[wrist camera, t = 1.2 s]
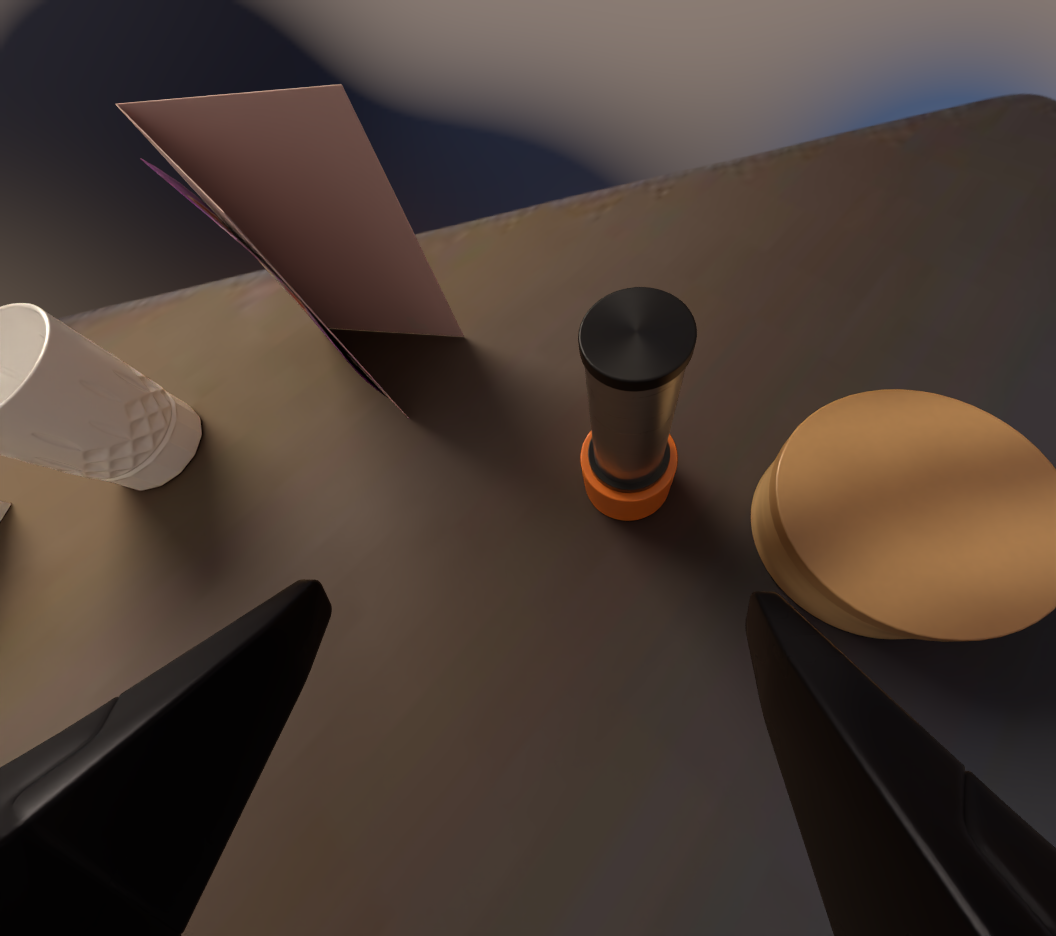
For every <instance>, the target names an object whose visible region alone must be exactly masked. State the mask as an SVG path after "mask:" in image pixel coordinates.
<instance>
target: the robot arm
mask: <svg viewBox="0 0 1056 936" xmlns="http://www.w3.org/2000/svg"><path fill="white" fill-rule="evenodd" d="M331 612H332V607H331V603H330V601H329V599H328V597H327V595H326V593H325V591H324V589H323V586H322V584H321V583H320V582H319V581H318V580H305V579H303V580H299V581H297V582H295V583H293V584H292V585H290V586H289V587H287V588H286V589H284V590H282V591H281V592H279V593H278V594H276V595H275V596H273V597H272V598H270V599H268V600H267V601H265V602H264V603H262V604H261V605H259V606H257V607H256V608H254V609H253V610H251V611H250V612H248V613H247V614H245V615H243V616H242V617H240V618H239V619H237V620H236V621H234V622H232V623H231V624H229V625H228V626H226V627H225V628H223V629H222V630H220V631H218V632H217V633H215V634H214V635H212V636H211V637H209V638H208V639H206V640H204V641H203V642H201V643H200V644H198V645H197V646H195V647H193V648H192V649H190V650H189V651H187V652H186V653H184V654H183V655H181V656H179V657H178V658H176V659H175V660H173V661H172V662H170V663H168V664H167V665H165V666H164V667H162V668H161V669H159V670H158V671H156V672H154V673H153V674H151V675H150V676H148V677H147V678H145V679H143V680H142V681H140V682H139V683H137V684H136V685H134V686H133V687H131V688H129V689H128V690H126V691H125V692H123V693H122V694H121V695H120V696H119V697H115V698H114V699H112V700H111V701H109V702H107V703H106V704H104V705H103V706H101V707H100V708H98V709H97V710H95V711H94V712H92V713H90V714H89V715H87V716H86V717H84V718H82V719H81V720H79V721H77V722H76V723H74V724H73V725H71V726H69V727H68V728H66V729H65V730H63V731H61V732H60V733H58V734H57V735H55V736H53V737H51V738H50V739H48V740H46V741H45V742H43V743H41V744H40V745H38V746H36V747H35V748H33V749H31V750H30V751H28V752H26V753H25V754H23V755H21V756H19V757H18V758H16V759H14V760H13V761H11V762H9V763H7V764H6V765H4V766H2V767H1V768H0V936H181V934H182V933H183V932H184V930H185V928H186V926H187V924H188V922H189V920H190V918H191V916H192V914H193V912H194V909H195V907H196V905H197V903H198V901H199V899H200V897H201V895H202V893H203V891H204V889H205V887H206V885H207V883H208V881H209V879H210V877H211V875H212V873H213V871H214V869H215V867H216V865H217V863H218V860H219V858H220V856H221V854H222V852H223V850H224V848H225V846H226V844H227V842H228V840H229V838H230V836H231V834H232V832H233V830H234V828H235V826H236V824H237V822H238V820H239V818H240V816H241V813H242V811H243V809H244V807H245V805H246V803H247V801H248V799H249V797H250V795H251V793H252V791H253V789H254V787H255V785H256V783H257V781H258V779H259V777H260V775H261V773H262V771H263V769H264V766H265V764H266V762H267V760H268V758H269V756H270V754H271V752H272V750H273V748H274V746H275V744H276V742H277V740H278V738H279V736H280V734H281V732H282V730H283V728H284V726H285V724H286V722H287V719H288V717H289V715H290V713H291V711H292V709H293V707H294V705H295V703H296V701H297V699H298V697H299V695H300V693H301V691H302V689H303V686H304V684H305V682H306V680H307V677H308V675H309V672H310V670H311V667H312V665H313V662H314V659H315V657H316V654H317V651H318V649H319V646H320V643H321V641H322V638H323V636H324V633H325V630H326V628H327V625H328V622H329V620H330V617H331ZM746 635H747V640H748V645H749V649H750V654H751V659H752V664H753V669H754V674H755V679H756V684H757V689H758V694H759V698H760V703H761V708H762V712H763V716H764V720H765V723H766V726H767V730H768V733H769V736H770V739H771V742H772V745H773V748H774V751H775V754H776V757H777V761H778V764H779V767H780V770H781V773H782V776H783V779H784V782H785V785H786V788H787V792H788V795H789V798H790V801H791V804H792V807H793V810H794V813H795V816H796V819H797V822H798V826H799V829H800V832H801V835H802V838H803V841H804V844H805V847H806V850H807V853H808V856H809V860H810V863H811V866H812V869H813V872H814V875H815V878H816V881H817V884H818V887H819V890H820V894H821V897H822V900H823V903H824V906H825V909H826V912H827V915H828V918H829V921H830V924H831V928H832V931H833V934H834V936H1056V848H1055V847H1054V846H1053V845H1051V844H1050V843H1049V842H1048V841H1047V840H1046V839H1044V838H1043V837H1042V836H1041V835H1040V834H1039V833H1038V832H1037V831H1035V830H1034V829H1033V828H1032V827H1031V826H1030V825H1029V824H1028V823H1027V822H1025V821H1024V820H1023V819H1022V818H1021V817H1020V816H1019V815H1018V814H1017V813H1015V812H1014V811H1013V810H1012V809H1011V808H1010V807H1009V806H1008V805H1006V804H1005V803H1004V802H1003V801H1002V800H1001V799H1000V798H999V797H998V796H996V795H995V794H994V793H993V792H992V791H991V790H990V789H989V788H988V787H987V786H986V785H985V784H984V783H982V782H981V781H980V780H979V779H978V778H977V777H976V776H975V775H974V774H973V773H972V772H970V771H965V767H964V765H963V764H962V763H961V762H959V761H958V760H957V759H956V758H955V757H954V756H953V755H952V754H951V753H950V752H949V751H948V750H947V749H945V748H944V747H943V746H942V745H941V744H940V743H939V742H938V741H937V740H936V739H935V738H934V737H932V736H931V735H930V734H929V733H928V732H927V731H926V730H925V729H924V728H923V727H922V726H921V725H920V724H918V723H917V722H916V721H915V720H914V719H913V718H912V717H911V716H910V715H909V714H908V713H907V712H905V711H904V710H903V709H902V708H901V707H900V706H899V705H898V704H897V703H896V702H895V701H894V700H893V699H891V698H890V697H889V696H888V695H887V694H886V693H885V692H884V691H883V690H882V689H881V688H880V687H878V686H877V685H876V684H875V683H874V682H873V681H872V680H871V679H870V678H869V677H868V676H867V675H866V674H864V673H863V672H862V671H861V670H860V669H859V668H858V667H857V666H856V665H855V664H854V663H853V662H852V661H850V660H849V659H848V658H847V657H846V656H845V655H844V654H843V653H842V652H841V651H840V650H839V649H837V648H836V647H835V646H834V645H833V644H832V643H831V642H830V641H829V640H828V639H827V638H826V637H825V636H823V635H822V634H821V633H820V632H819V631H818V630H817V629H816V628H815V627H814V626H813V625H812V624H810V623H809V622H808V621H807V620H806V619H805V618H804V617H803V616H802V615H801V614H800V613H799V612H798V611H796V610H795V609H794V608H793V607H792V606H791V605H790V604H789V603H788V602H787V601H786V600H785V599H783V598H782V597H781V596H780V595H779V594H777V593H775V592H760V591H756V592H753V593H752V594H751V597H750V601H749V606H748V612H747V617H746Z"/></svg>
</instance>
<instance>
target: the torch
mask: <svg viewBox="0 0 1056 936" xmlns="http://www.w3.org/2000/svg"><path fill="white" fill-rule="evenodd" d="M696 338H697V328H696V323H695V320H694V317H693V315H692V313H691V312H690V310H689V309H688V307H687V306H686V305H685V304H684V303H683V302H682V301H681V300H679V299H678V298H677V297H675V296H673V295H672V294H670V293H667V292H665V291H662V290H659V289H654V288H647V287H634V288H627V289H623V290H619V291H616V292H613V293H611V294H609V295H607V296H605V297H604V298H602V299H600V300H599V301H598V302H596V303H595V304H594V305H593V306H592V307H591V308H590V309H589V311H588V312H587V313H586V315H585V317H584V318H583V320H582V323H581V325H580V329H579V335H578V341H579V350H580V356H581V359H582V362H583V364H584V366H585V375H586V384H587V393H588V402H589V412H590V421H591V431H590V433H589V434H588V435H587V437H586V439H585V440H584V443H583V445H582V449H581V455H580V461H581V468H582V473H583V478H584V484H585V489H586V492H587V495H588V497H589V499H590V501H591V502H592V504H593V505H594V506H595V507H596V508H597V509H598V510H599V511H600V512H602V513H603V514H605V515H607V516H609V517H611V518H614V519H617V520H623V521H633V520H639V519H642V518H645V517H647V516H649V515H651V514H653V513H654V512H655V511H657V510H658V509H659V508H660V507H661V506H662V504H663V503H664V501H665V500H666V498H667V496H668V493H669V490H670V487H671V484H672V481H673V478H674V475H675V472H676V469H677V463H678V454H677V449H676V445H675V443H674V441H673V439H672V437H671V435H670V434H669V433H670V429H671V425H672V421H673V417H674V413H675V409H676V405H677V401H678V397H679V393H680V389H681V385H682V381H683V377H684V372H685V368H686V366H687V365H688V363H689V361H690V360H691V357H692V354H693V351H694V347H695V343H696Z"/></svg>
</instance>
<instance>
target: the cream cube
mask: <svg viewBox="0 0 1056 936" xmlns="http://www.w3.org/2000/svg"><path fill="white" fill-rule="evenodd" d="M11 504H12V503H8V502H4V501H0V521H1V520H2V518H3V516H4V515H5V513H6V512H7V510H8V508H9V507H10V505H11Z"/></svg>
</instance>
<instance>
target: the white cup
mask: <svg viewBox="0 0 1056 936" xmlns="http://www.w3.org/2000/svg"><path fill="white" fill-rule="evenodd" d="M201 436H202V430H201V421H200V417H199V416H198V415H197V413H196V412H195V411H194V410H193V409H192V408H191V407H190V406H189V405H188V404H186V403H185V402H183V401H181V400H180V399H178V398H177V397H175V396H173V395H172V394H170V393H169V392H167V391H165V390H164V389H163V388H162V387H161V386H159V385H158V384H157V383H155V382H154V381H152V380H151V379H150V378H148V377H146V376H144V375H143V374H141V373H140V372H138V371H137V370H136V369H134V368H133V367H131V366H130V365H128V364H127V363H125V362H124V361H122V360H121V359H119V358H118V357H116V356H115V355H113V354H112V353H110V352H108V351H107V350H105V349H104V348H102V347H101V346H99V345H97V344H96V343H94V342H93V341H91V340H90V339H88V338H86V337H85V336H83V335H82V334H80V333H79V332H77V331H75V330H74V329H72V328H71V327H69V326H68V325H66V324H64V323H63V322H61V321H60V320H58V319H57V318H55V317H54V316H52V315H50V314H49V313H47V312H46V311H44V310H43V309H41V308H40V307H38V306H35V305H33V304H28V303H14V304H8V305H4V306H1V307H0V455H2V456H6V457H9V458H13V459H16V460H20V461H23V462H26V463H29V464H33V465H37V466H42V467H47V468H51V469H54V470H57V471H60V472H64V473H69V474H73V475H78V476H81V477H84V478H88V479H98V480H102V481H107V482H111V483H115V484H118V485H121V486H125V487H129V488H132V489H136V490H139V491H143V490H147V489H151V488H155V487H159V486H162V485H164V484H165V483H166V482H168V481H169V480H171V479H172V478H174V477H175V476H177V475H178V474H180V473H181V472H182V471H183V469H184V468H185V467H186V465H187V464H188V463H189V462H190V460H191V459H192V458H193V457H194V455H195V453H196V451H197V448H198V445H199V442H200V439H201Z"/></svg>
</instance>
